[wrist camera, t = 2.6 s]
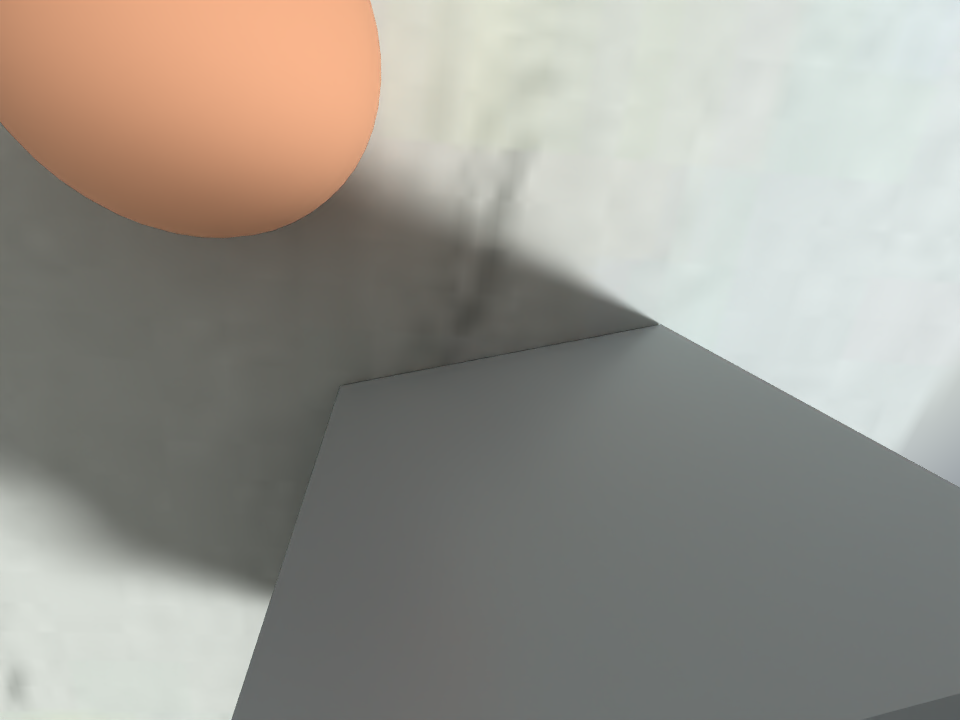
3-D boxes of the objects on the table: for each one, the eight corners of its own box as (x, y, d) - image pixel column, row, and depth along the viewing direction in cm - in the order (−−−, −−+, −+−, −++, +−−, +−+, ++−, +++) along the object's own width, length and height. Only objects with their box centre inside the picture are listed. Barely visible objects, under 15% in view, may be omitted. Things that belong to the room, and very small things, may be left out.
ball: (410, 203, 10) (413, 218, 6) (161, 244, 10) (-58, 297, 5) (352, -97, 9) (290, -433, 4) (47, -63, 8) (-425, -389, 4)
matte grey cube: (667, 573, 15) (1000, 1069, 6) (407, 634, 14) (410, 1267, 6) (660, 324, 12) (1212, 625, 4) (340, 385, 11) (171, 903, 3)
